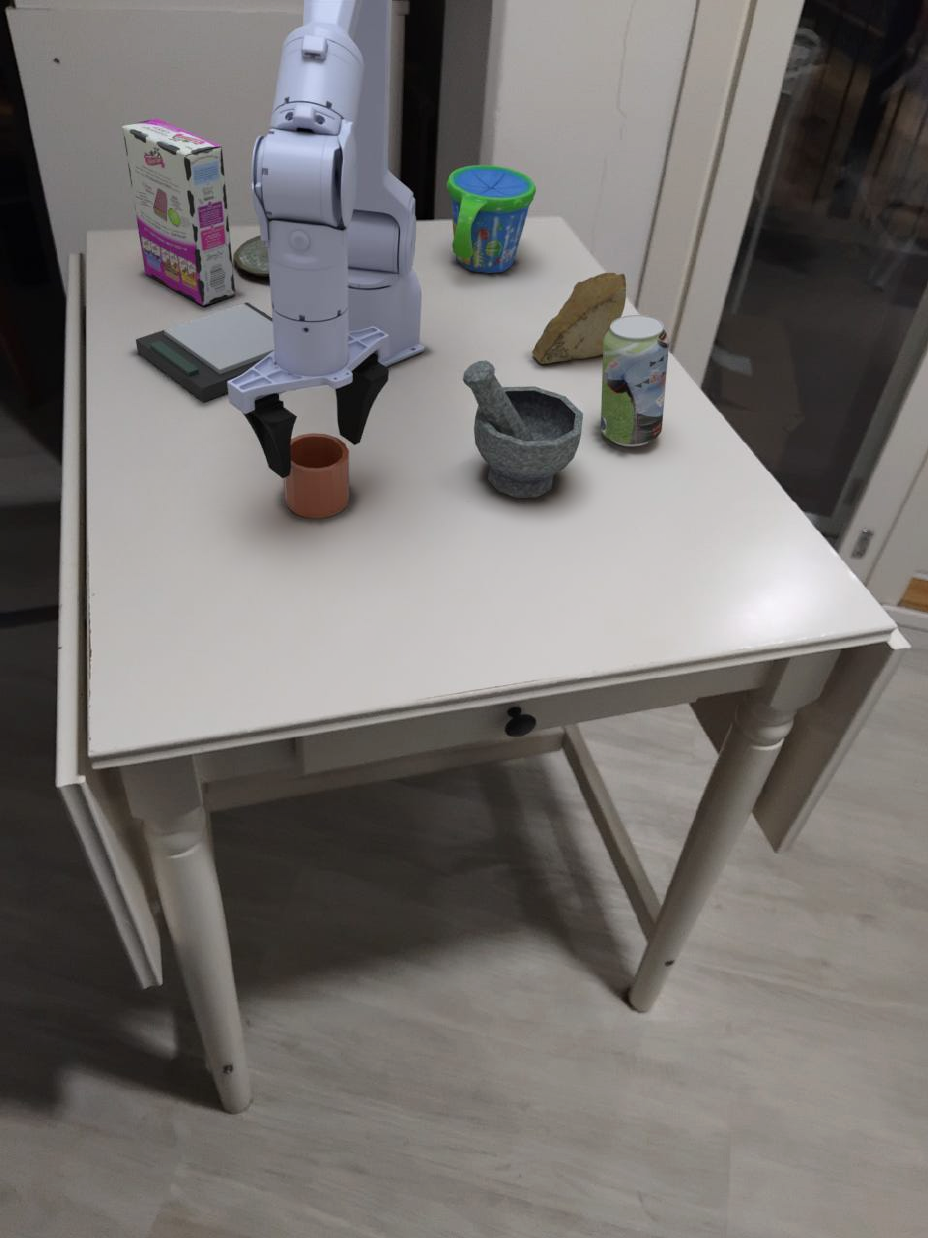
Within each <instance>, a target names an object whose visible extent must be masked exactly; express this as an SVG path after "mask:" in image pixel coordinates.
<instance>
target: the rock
mask: <svg viewBox="0 0 928 1238" xmlns="http://www.w3.org/2000/svg"><path fill="white" fill-rule="evenodd" d="M626 300H627V279H626V276H625V274H624V273H619V274H616V273H615V272H603V273H600V274H596V275H594V276H593V277H589V278H587V279H585V280H582V281H578V282H576V284H575V285H574V286H573V290H572V292H571V294H570V295H569V297H568V299H567V300H566V301H565V302H564V303H563V306H562V307H561V308H560V309H559V311H558V313H557V315H555V316H554V317H552V318H551V319H550V321H548V323H547V324H546V326H545V328H544V330H543V332H542V334H541V335H540V337H539V339H538V340H537V341H536V343H535V345H534V347H533V349H532V352H531V354H532V356H533V357H534V358H535V360H536V361H537V362H538V363H539V364H542V365H543V364H552V363H558V362H568V361H570V360H578V359H580V360H584V359H588V358H595V357H598V356H602V355H603V340H604V337H605V335H606V333H607V332H608V331H609V329H610V325H611V323H612V322H613V321H614V320H616V319H618V318H620V317H623V314H624V310H625V306H626Z"/></svg>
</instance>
